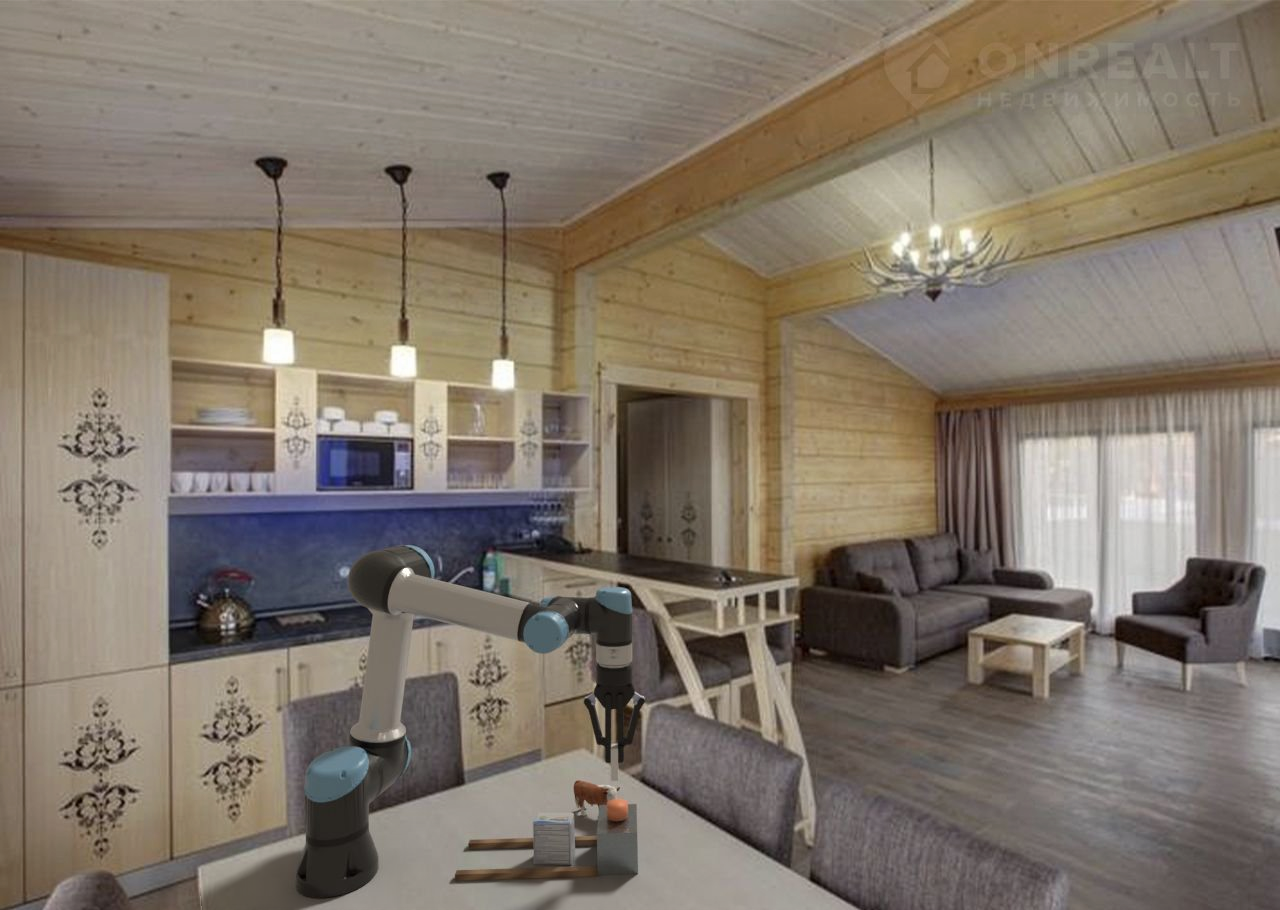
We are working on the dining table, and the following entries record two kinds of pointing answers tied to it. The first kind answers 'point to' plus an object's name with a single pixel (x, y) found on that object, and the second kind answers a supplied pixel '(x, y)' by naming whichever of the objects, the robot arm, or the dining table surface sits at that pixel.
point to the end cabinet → (617, 843)
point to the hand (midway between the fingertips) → (614, 777)
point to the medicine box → (554, 838)
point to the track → (525, 872)
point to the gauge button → (617, 809)
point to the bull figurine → (593, 794)
